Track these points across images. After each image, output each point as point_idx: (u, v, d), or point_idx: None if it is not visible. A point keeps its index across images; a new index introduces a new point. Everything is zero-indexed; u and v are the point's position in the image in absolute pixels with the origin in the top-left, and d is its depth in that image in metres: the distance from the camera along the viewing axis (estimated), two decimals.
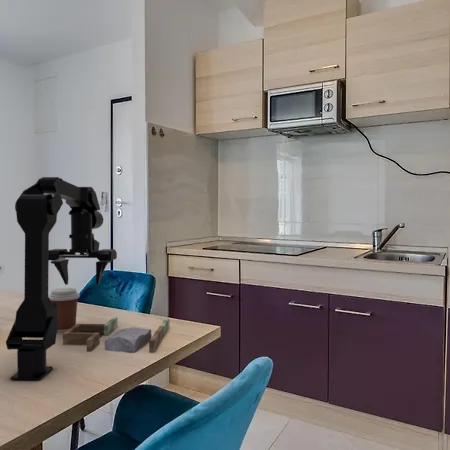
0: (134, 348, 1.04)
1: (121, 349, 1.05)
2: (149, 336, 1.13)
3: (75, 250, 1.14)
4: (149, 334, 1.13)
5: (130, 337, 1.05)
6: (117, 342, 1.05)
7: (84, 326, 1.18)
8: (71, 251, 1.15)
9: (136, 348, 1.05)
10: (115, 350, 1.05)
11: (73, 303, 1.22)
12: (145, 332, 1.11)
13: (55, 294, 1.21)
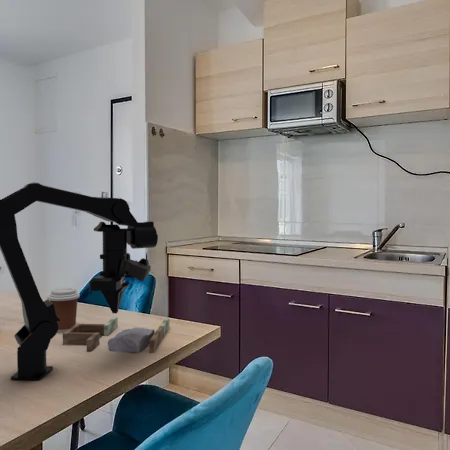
0: (138, 348, 1.04)
1: (125, 349, 1.04)
2: None
3: None
4: (152, 334, 1.13)
5: (134, 337, 1.05)
6: (121, 343, 1.05)
7: (84, 326, 1.18)
8: None
9: (140, 348, 1.05)
10: (119, 350, 1.04)
11: (73, 303, 1.22)
12: (148, 332, 1.11)
13: (55, 294, 1.21)
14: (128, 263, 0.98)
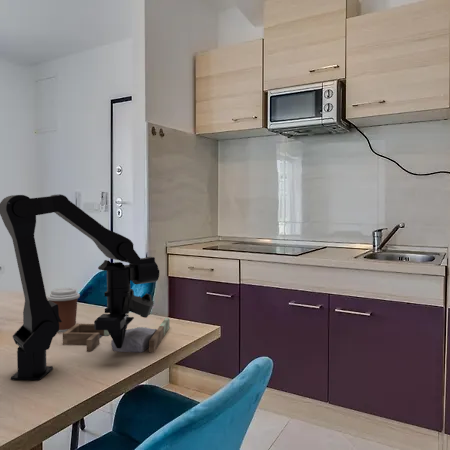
0: (142, 348, 1.04)
1: (128, 349, 1.04)
2: None
3: None
4: None
5: (137, 337, 1.05)
6: (124, 343, 1.05)
7: (84, 326, 1.18)
8: None
9: (143, 348, 1.05)
10: (122, 350, 1.05)
11: (73, 303, 1.22)
12: (151, 332, 1.11)
13: (55, 294, 1.21)
14: (132, 300, 1.01)
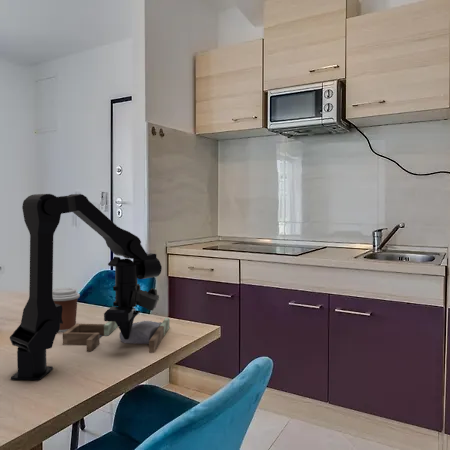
0: (148, 339, 1.11)
1: (136, 341, 1.11)
2: None
3: None
4: None
5: (144, 329, 1.11)
6: (132, 335, 1.12)
7: (84, 326, 1.18)
8: None
9: None
10: (130, 342, 1.11)
11: (73, 303, 1.22)
12: (157, 325, 1.18)
13: (55, 294, 1.21)
14: (139, 294, 1.07)
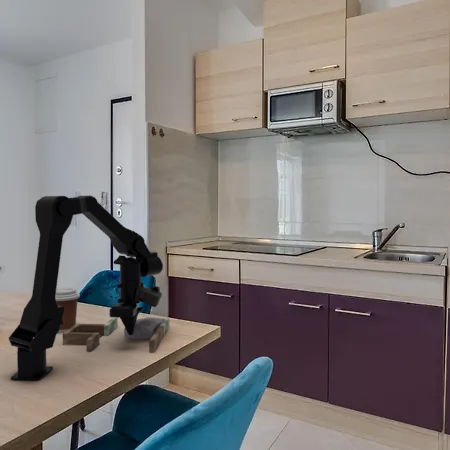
0: (152, 335, 1.15)
1: (140, 336, 1.15)
2: None
3: None
4: None
5: (148, 325, 1.16)
6: (136, 330, 1.16)
7: (84, 326, 1.18)
8: None
9: None
10: (134, 337, 1.15)
11: (73, 303, 1.22)
12: (160, 321, 1.22)
13: None
14: (142, 291, 1.11)
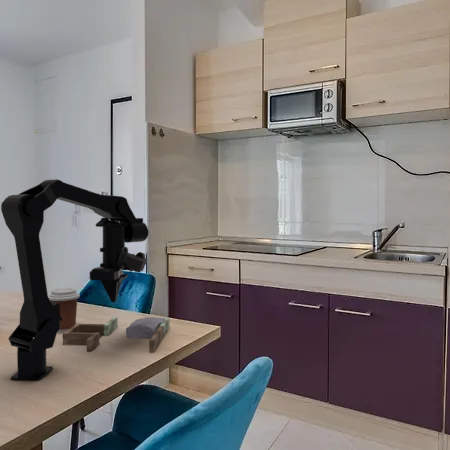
0: None
1: (142, 336, 1.16)
2: None
3: None
4: None
5: (150, 324, 1.16)
6: (138, 330, 1.16)
7: (84, 326, 1.18)
8: None
9: None
10: (137, 337, 1.15)
11: (73, 303, 1.22)
12: (161, 321, 1.23)
13: (55, 294, 1.21)
14: (126, 256, 1.06)
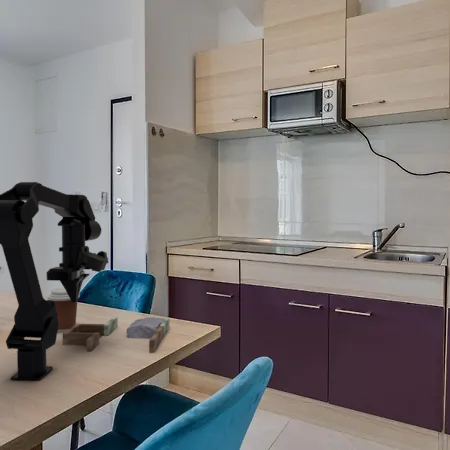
0: None
1: (143, 336, 1.15)
2: None
3: None
4: None
5: (151, 325, 1.16)
6: (139, 330, 1.16)
7: (84, 326, 1.18)
8: None
9: None
10: (138, 337, 1.15)
11: (73, 303, 1.22)
12: (161, 321, 1.23)
13: (55, 294, 1.21)
14: (85, 255, 1.05)
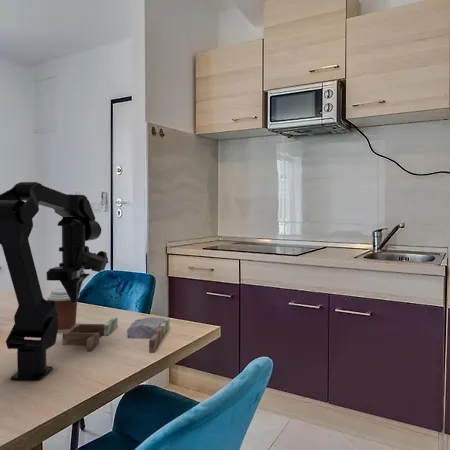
0: None
1: (144, 336, 1.15)
2: None
3: None
4: None
5: (152, 325, 1.16)
6: (140, 330, 1.16)
7: (84, 326, 1.18)
8: None
9: None
10: (139, 337, 1.15)
11: (73, 303, 1.22)
12: (161, 321, 1.23)
13: (55, 294, 1.21)
14: (85, 255, 1.05)
